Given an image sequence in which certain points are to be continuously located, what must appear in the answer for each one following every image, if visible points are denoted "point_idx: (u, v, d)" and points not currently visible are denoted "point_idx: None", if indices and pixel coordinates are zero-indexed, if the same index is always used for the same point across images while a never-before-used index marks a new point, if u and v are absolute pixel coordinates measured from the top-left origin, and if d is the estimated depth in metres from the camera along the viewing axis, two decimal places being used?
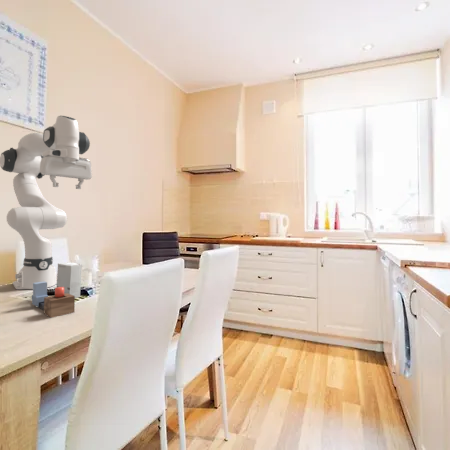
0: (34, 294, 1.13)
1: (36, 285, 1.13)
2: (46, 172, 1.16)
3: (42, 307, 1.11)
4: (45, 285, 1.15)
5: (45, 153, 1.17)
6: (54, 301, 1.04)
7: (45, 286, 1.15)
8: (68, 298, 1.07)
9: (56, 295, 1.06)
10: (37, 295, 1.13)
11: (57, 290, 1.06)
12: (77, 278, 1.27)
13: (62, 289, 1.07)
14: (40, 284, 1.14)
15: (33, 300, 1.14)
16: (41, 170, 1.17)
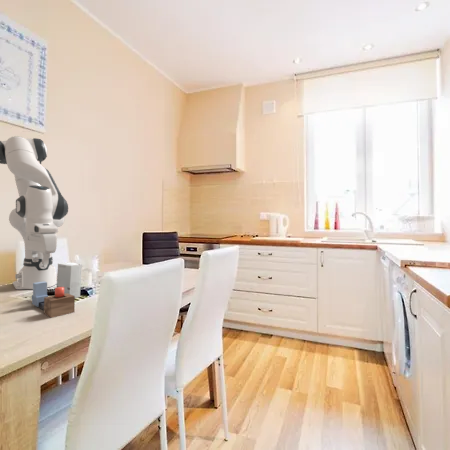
0: (34, 294, 1.13)
1: (36, 285, 1.13)
2: None
3: (42, 307, 1.11)
4: (45, 285, 1.15)
5: (50, 230, 1.09)
6: (54, 301, 1.04)
7: (45, 286, 1.15)
8: (68, 298, 1.07)
9: (56, 295, 1.06)
10: (37, 295, 1.13)
11: (57, 290, 1.06)
12: (77, 278, 1.27)
13: (62, 289, 1.07)
14: (40, 284, 1.14)
15: (33, 300, 1.14)
16: (51, 249, 1.08)
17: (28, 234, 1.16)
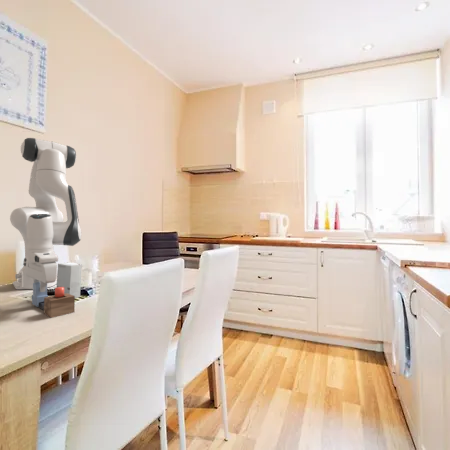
0: (34, 294, 1.13)
1: (36, 285, 1.13)
2: None
3: (42, 307, 1.11)
4: None
5: (50, 260, 1.09)
6: (54, 301, 1.04)
7: None
8: (68, 298, 1.07)
9: (56, 295, 1.06)
10: (37, 295, 1.13)
11: (57, 290, 1.06)
12: (77, 278, 1.27)
13: (62, 289, 1.07)
14: None
15: (33, 300, 1.14)
16: (51, 279, 1.08)
17: (28, 261, 1.17)
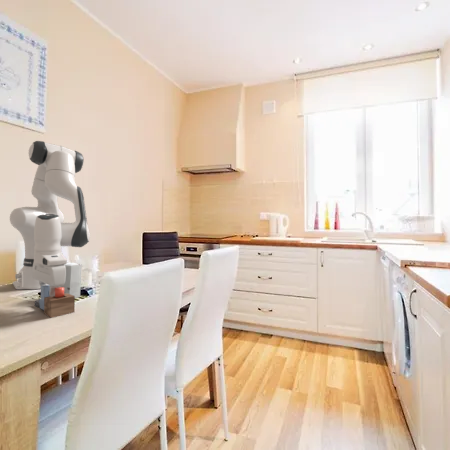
0: (42, 297, 1.09)
1: (44, 288, 1.08)
2: None
3: None
4: None
5: (59, 262, 1.05)
6: (54, 301, 1.04)
7: None
8: (68, 298, 1.07)
9: (56, 295, 1.06)
10: None
11: (57, 291, 1.06)
12: (77, 278, 1.27)
13: (62, 289, 1.07)
14: (48, 287, 1.09)
15: (41, 304, 1.09)
16: (59, 282, 1.04)
17: (35, 263, 1.12)
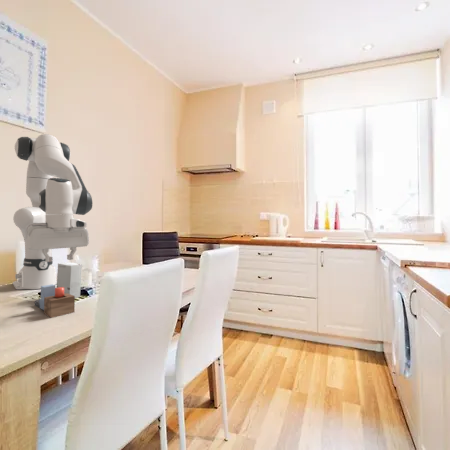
0: (42, 297, 1.09)
1: (44, 288, 1.08)
2: None
3: None
4: (53, 288, 1.11)
5: None
6: (54, 301, 1.04)
7: (53, 289, 1.11)
8: (68, 298, 1.07)
9: (56, 295, 1.06)
10: None
11: (57, 290, 1.06)
12: (77, 278, 1.27)
13: (62, 289, 1.07)
14: (48, 287, 1.09)
15: (41, 304, 1.09)
16: None
17: (42, 231, 1.01)
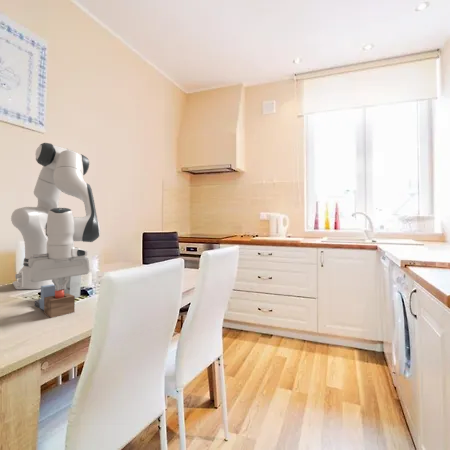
0: (42, 297, 1.09)
1: (44, 288, 1.08)
2: None
3: None
4: (53, 288, 1.11)
5: None
6: (54, 301, 1.04)
7: (53, 289, 1.11)
8: (68, 298, 1.07)
9: (56, 297, 1.06)
10: None
11: (57, 293, 1.06)
12: (77, 278, 1.27)
13: (62, 291, 1.07)
14: (48, 287, 1.09)
15: (41, 304, 1.09)
16: None
17: (43, 263, 1.01)
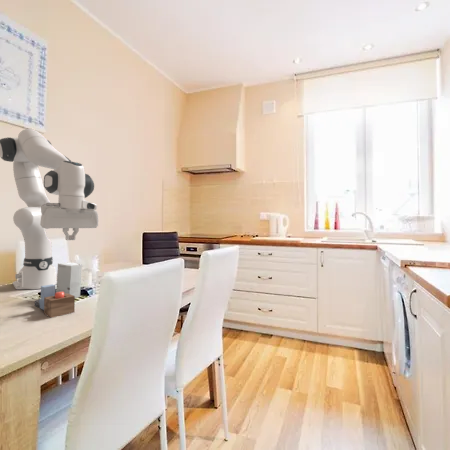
0: (42, 297, 1.09)
1: (44, 288, 1.08)
2: None
3: None
4: (53, 288, 1.11)
5: None
6: (54, 301, 1.04)
7: (53, 289, 1.11)
8: (68, 298, 1.07)
9: None
10: None
11: (57, 295, 1.06)
12: (77, 278, 1.27)
13: (62, 294, 1.07)
14: (48, 287, 1.09)
15: (41, 304, 1.09)
16: None
17: (55, 211, 1.06)
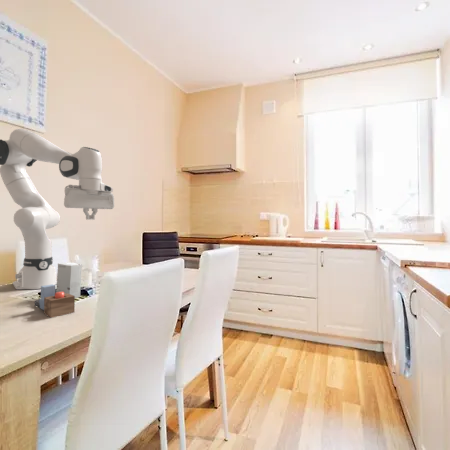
0: (42, 297, 1.09)
1: (44, 288, 1.08)
2: None
3: None
4: (53, 288, 1.11)
5: None
6: (54, 301, 1.04)
7: (53, 289, 1.11)
8: (68, 298, 1.07)
9: None
10: None
11: (57, 295, 1.06)
12: (77, 278, 1.27)
13: (62, 294, 1.07)
14: (48, 287, 1.09)
15: (41, 304, 1.09)
16: None
17: (77, 192, 1.17)
